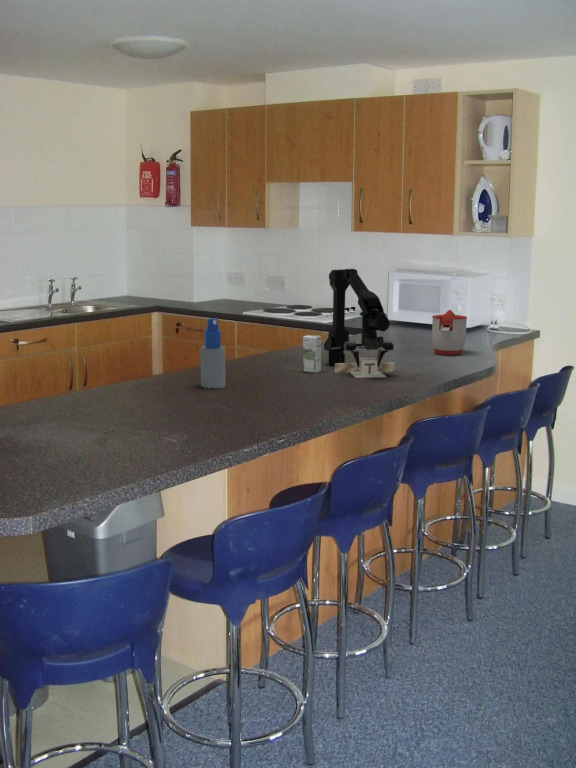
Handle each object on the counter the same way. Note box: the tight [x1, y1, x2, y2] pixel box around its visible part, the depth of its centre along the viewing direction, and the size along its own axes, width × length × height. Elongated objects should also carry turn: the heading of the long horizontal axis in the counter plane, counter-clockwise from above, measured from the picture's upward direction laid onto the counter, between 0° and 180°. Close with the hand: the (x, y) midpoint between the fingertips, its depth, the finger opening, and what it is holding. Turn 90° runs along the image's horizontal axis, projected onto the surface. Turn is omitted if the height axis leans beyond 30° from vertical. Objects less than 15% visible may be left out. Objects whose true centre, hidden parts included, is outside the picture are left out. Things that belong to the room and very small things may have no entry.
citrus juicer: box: [431, 309, 468, 357], centre depth 393 cm, size 16×17×20 cm
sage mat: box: [350, 372, 387, 379], centre depth 344 cm, size 12×10×1 cm
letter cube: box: [359, 357, 377, 376], centre depth 343 cm, size 6×6×6 cm
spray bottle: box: [200, 317, 226, 389], centre depth 319 cm, size 9×9×25 cm
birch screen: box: [334, 362, 396, 374], centre depth 351 cm, size 24×2×4 cm, turn 96°
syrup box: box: [302, 334, 322, 374], centre depth 350 cm, size 6×6×14 cm
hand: (368, 367), depth 344 cm, fingers open, 7 cm apart
